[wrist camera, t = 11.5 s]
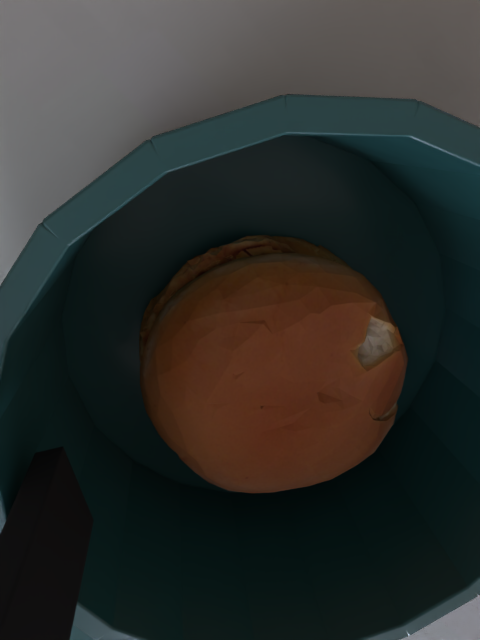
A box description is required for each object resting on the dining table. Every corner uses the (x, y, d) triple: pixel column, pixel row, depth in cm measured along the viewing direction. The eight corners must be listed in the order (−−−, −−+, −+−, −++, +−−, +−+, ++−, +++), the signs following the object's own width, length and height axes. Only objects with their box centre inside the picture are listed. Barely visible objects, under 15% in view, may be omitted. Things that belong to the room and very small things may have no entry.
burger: (96, 370, 18) (75, 442, 14) (238, 177, 16) (263, 191, 12) (282, 473, 22) (310, 557, 17) (419, 322, 20) (488, 374, 15)
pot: (12, 458, 20) (-82, 647, 13) (106, 32, 15) (40, -72, 7) (355, 519, 24) (436, 688, 17) (524, 203, 19) (751, 248, 11)
